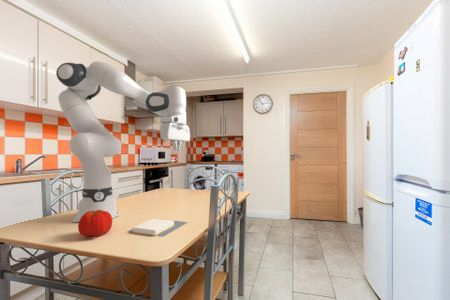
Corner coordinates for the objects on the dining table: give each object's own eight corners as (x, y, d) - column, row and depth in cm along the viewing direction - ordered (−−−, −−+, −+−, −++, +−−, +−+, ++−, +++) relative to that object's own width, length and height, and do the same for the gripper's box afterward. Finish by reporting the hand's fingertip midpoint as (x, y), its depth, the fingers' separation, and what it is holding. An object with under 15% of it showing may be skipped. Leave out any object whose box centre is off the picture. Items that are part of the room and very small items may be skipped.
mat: (156, 219, 103) (156, 218, 103) (188, 223, 97) (188, 222, 97) (126, 232, 86) (126, 231, 86) (162, 238, 80) (162, 236, 80)
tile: (153, 218, 96) (132, 227, 85) (174, 220, 93) (155, 230, 81) (153, 223, 96) (132, 232, 85) (174, 225, 92) (155, 235, 81)
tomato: (76, 234, 84) (77, 210, 85) (109, 228, 91) (109, 206, 91) (79, 243, 76) (79, 217, 76) (115, 236, 82) (115, 212, 83)
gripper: (182, 123, 117) (182, 150, 117) (157, 117, 98) (157, 150, 98) (193, 123, 115) (193, 150, 115) (170, 117, 96) (170, 150, 96)
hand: (176, 150), depth 106 cm, fingers closed
